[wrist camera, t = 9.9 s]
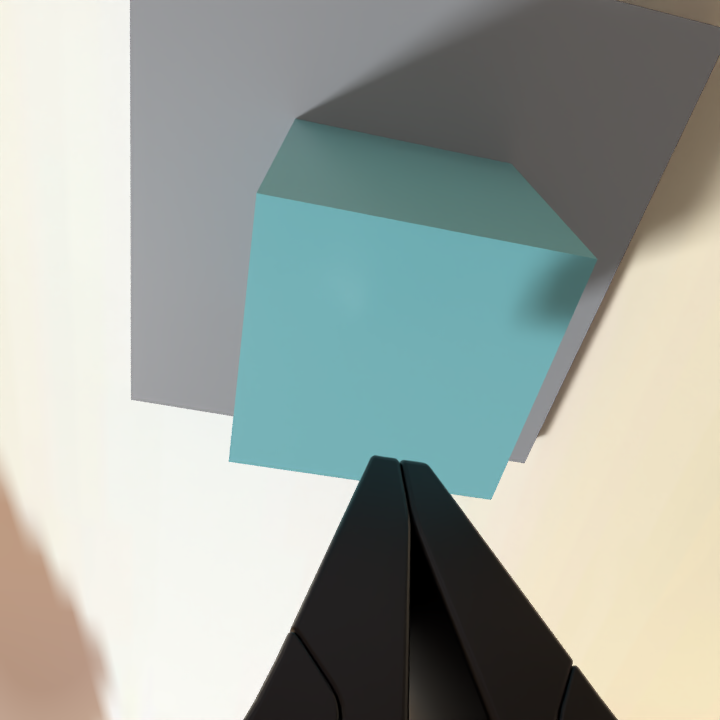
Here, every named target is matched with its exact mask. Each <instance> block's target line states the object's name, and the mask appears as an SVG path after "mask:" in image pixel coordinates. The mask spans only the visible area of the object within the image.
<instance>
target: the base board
mask: <svg viewBox="0 0 720 720" xmlns="http://www.w3.org/2000/svg"><path fill="white" fill-rule="evenodd" d="M719 55H720V27H717V26H714V25H710V24H706V23H702V22H698V21H694V20H690V19H686V18H683V17H679V16H675V15H671V14H667V13H663V12H659V11H655V10H652V9H648V8H644V7H640V6H636V5H632V4H628V3H624V2H621V1H617V0H130V128H131V400H136V401H143V402H149V403H155V404H161V405H167V406H174V407H180V408H186V409H192V410H198V411H205V412H211V413H217V414H223V415H229V416H234V407H235V397H236V387H237V378H238V368H239V358H240V348H241V339H242V329H243V319H244V309H245V300H246V290H247V280H248V270H249V261H250V251H251V241H252V232H253V222H254V212H255V202H256V193H257V191H258V189H259V187H260V185H261V183H262V181H263V180H264V178H265V176H266V174H267V172H268V170H269V168H270V166H271V164H272V162H273V160H274V158H275V157H276V155H277V153H278V151H279V149H280V147H281V145H282V143H283V141H284V139H285V137H286V136H287V134H288V132H289V130H290V128H291V126H292V124H293V122H294V120H295V119H300V120H304V121H309V122H314V123H319V124H323V125H328V126H333V127H338V128H343V129H347V130H352V131H357V132H362V133H367V134H371V135H376V136H381V137H386V138H391V139H395V140H400V141H405V142H410V143H414V144H419V145H424V146H429V147H434V148H438V149H443V150H448V151H453V152H458V153H462V154H467V155H472V156H477V157H482V158H486V159H491V160H496V161H501V162H506V163H510V164H512V165H513V166H514V167H515V168H516V169H517V170H518V172H519V173H520V174H521V175H522V176H523V177H524V178H525V179H526V180H527V182H528V183H529V184H530V185H531V186H532V187H533V188H534V189H535V190H536V191H537V193H538V194H539V195H540V196H541V197H542V198H543V199H544V200H545V201H546V203H547V204H548V205H549V206H550V207H551V208H552V209H553V210H554V211H555V213H556V214H557V215H558V216H559V217H560V218H561V219H562V220H563V221H564V223H565V224H566V225H567V226H568V227H569V228H570V229H571V230H572V231H573V232H574V234H575V235H576V236H577V237H578V238H579V239H580V240H581V241H582V242H583V244H584V245H585V246H586V247H587V248H588V249H589V250H590V251H591V252H592V254H593V255H594V256H595V257H596V258H597V262H596V264H595V266H594V269H593V271H592V273H591V275H590V278H589V280H588V282H587V284H586V287H585V289H584V291H583V293H582V296H581V298H580V300H579V302H578V305H577V307H576V309H575V311H574V314H573V316H572V318H571V320H570V323H569V325H568V327H567V329H566V332H565V334H564V336H563V338H562V341H561V343H560V345H559V347H558V350H557V352H556V354H555V357H554V359H553V361H552V363H551V366H550V368H549V370H548V372H547V375H546V377H545V379H544V381H543V384H542V386H541V388H540V390H539V393H538V395H537V397H536V399H535V402H534V404H533V406H532V408H531V411H530V413H529V415H528V417H527V420H526V422H525V424H524V426H523V429H522V431H521V433H520V435H519V438H518V440H517V442H516V445H515V447H514V449H513V451H512V454H511V456H510V458H509V460H508V461H514V462H520V463H525V461H526V459H527V457H528V454H529V452H530V450H531V448H532V446H533V444H534V442H535V440H536V438H537V436H538V434H539V431H540V429H541V427H542V425H543V423H544V421H545V419H546V417H547V415H548V413H549V411H550V408H551V406H552V404H553V402H554V400H555V398H556V396H557V394H558V392H559V390H560V388H561V385H562V383H563V381H564V379H565V377H566V375H567V373H568V371H569V369H570V367H571V365H572V362H573V360H574V358H575V356H576V354H577V352H578V350H579V348H580V346H581V344H582V342H583V339H584V337H585V335H586V333H587V331H588V329H589V327H590V325H591V323H592V321H593V319H594V316H595V314H596V312H597V310H598V308H599V306H600V304H601V302H602V300H603V298H604V296H605V293H606V291H607V289H608V287H609V285H610V283H611V281H612V279H613V277H614V275H615V273H616V270H617V268H618V266H619V264H620V262H621V260H622V258H623V256H624V254H625V252H626V250H627V247H628V245H629V243H630V241H631V239H632V237H633V235H634V233H635V231H636V229H637V227H638V224H639V222H640V220H641V218H642V216H643V214H644V212H645V210H646V208H647V206H648V204H649V201H650V199H651V197H652V195H653V193H654V191H655V189H656V187H657V185H658V183H659V181H660V178H661V176H662V174H663V172H664V170H665V168H666V166H667V164H668V162H669V160H670V158H671V155H672V153H673V151H674V149H675V147H676V145H677V143H678V141H679V139H680V137H681V135H682V132H683V130H684V128H685V126H686V124H687V122H688V120H689V118H690V116H691V114H692V112H693V109H694V107H695V105H696V103H697V101H698V99H699V97H700V95H701V93H702V91H703V89H704V86H705V84H706V82H707V80H708V78H709V76H710V74H711V72H712V70H713V68H714V66H715V63H716V61H717V59H718V57H719Z"/></svg>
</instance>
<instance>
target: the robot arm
mask: <svg viewBox="0 0 720 720" xmlns="http://www.w3.org/2000/svg"><path fill="white" fill-rule="evenodd" d="M572 664H573V661H572V659H571V657H570V656H569V655H568V653H567V652H566V650H565V649H564V648H563V646H562V645H561V644H560V642H559V641H558V640H557V638H556V637H555V636H554V634H553V633H552V631H551V630H550V629H549V627H548V626H547V625H546V623H545V622H544V621H543V619H542V618H541V617H540V615H539V614H538V612H537V611H536V610H535V608H534V607H533V606H532V604H531V603H530V602H529V600H528V599H527V598H526V596H525V595H524V593H523V592H522V591H521V589H520V588H519V587H518V585H517V584H516V583H515V581H514V580H513V579H512V577H511V576H510V574H509V573H508V572H507V570H506V569H505V568H504V566H503V565H502V564H501V562H500V561H499V560H498V558H497V557H496V556H495V554H494V553H493V551H492V550H491V549H490V547H489V546H488V545H487V543H486V542H485V541H484V539H483V538H482V537H481V535H480V534H479V532H478V531H477V530H476V528H475V527H474V526H473V524H472V523H471V522H470V520H469V519H468V518H467V516H466V515H465V513H464V512H463V511H462V509H461V508H460V507H459V505H458V504H457V503H456V501H455V500H454V499H453V497H452V496H451V494H450V493H449V492H448V490H447V489H446V488H445V486H444V485H443V484H442V482H441V481H440V480H439V478H438V477H437V475H436V474H435V473H434V471H433V470H432V469H431V467H430V466H429V465H427V464H426V463H423V462H416V461H410V460H402V461H400V462H399V461H398V460H397V459H396V458H391V457H384V456H378V455H374V456H372V457H371V458H370V460H369V462H368V464H367V466H366V468H365V471H364V473H363V475H362V477H361V479H360V481H359V483H358V486H357V488H356V490H355V492H354V494H353V496H352V498H351V501H350V503H349V505H348V507H347V509H346V511H345V513H344V516H343V518H342V520H341V522H340V524H339V526H338V528H337V531H336V533H335V535H334V537H333V539H332V541H331V543H330V545H329V548H328V550H327V552H326V554H325V556H324V558H323V560H322V563H321V565H320V567H319V569H318V571H317V573H316V575H315V578H314V580H313V582H312V584H311V586H310V588H309V590H308V593H307V595H306V597H305V599H304V601H303V603H302V605H301V608H300V610H299V612H298V614H297V616H296V618H295V620H294V623H293V625H292V627H291V630H290V633H288V635H287V637H286V639H285V641H284V643H283V645H282V647H281V650H280V652H279V654H278V656H277V658H276V660H275V662H274V664H273V666H272V668H271V670H270V672H269V674H268V676H267V678H266V680H265V682H264V684H263V686H262V688H261V690H260V692H259V693H258V695H257V697H256V699H255V701H254V703H253V705H252V706H251V708H250V710H249V711H248V713H247V715H246V716H245V718H244V720H618V719H617V718H616V717H615V716H614V714H613V713H612V712H611V710H610V709H609V708H608V706H607V705H606V704H605V703H604V701H603V700H602V699H601V697H600V696H599V695H598V693H597V692H596V691H595V689H594V688H593V687H592V685H591V684H590V683H589V681H588V680H587V679H586V677H585V676H584V674H583V673H582V672H581V670H580V669H579V668H578V667H577V666H572Z"/></svg>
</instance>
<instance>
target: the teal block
mask: <svg viewBox="0 0 720 720" xmlns="http://www.w3.org/2000/svg"><path fill="white" fill-rule="evenodd" d="M596 262H597V258H596V257H595V256H594V255H593V254H592V252H591V251H590V250H589V249H588V248H587V247H586V246H585V245H584V244H583V242H582V241H581V240H580V239H579V238H578V237H577V236H576V235H575V234H574V232H573V231H572V230H571V229H570V228H569V227H568V226H567V225H566V224H565V223H564V221H563V220H562V219H561V218H560V217H559V216H558V215H557V214H556V213H555V211H554V210H553V209H552V208H551V207H550V206H549V205H548V204H547V203H546V201H545V200H544V199H543V198H542V197H541V196H540V195H539V194H538V193H537V191H536V190H535V189H534V188H533V187H532V186H531V185H530V184H529V183H528V182H527V180H526V179H525V178H524V177H523V176H522V175H521V174H520V173H519V172H518V170H517V169H516V168H515V167H514V166H513V165H512V164H510V163H506V162H501V161H496V160H491V159H486V158H482V157H477V156H472V155H467V154H462V153H458V152H453V151H448V150H443V149H438V148H434V147H429V146H424V145H419V144H414V143H410V142H405V141H400V140H395V139H391V138H386V137H381V136H376V135H371V134H367V133H362V132H357V131H352V130H347V129H343V128H338V127H333V126H328V125H323V124H319V123H314V122H309V121H304V120H300V119H295V120H294V122H293V124H292V126H291V128H290V130H289V132H288V134H287V136H286V137H285V139H284V141H283V143H282V145H281V147H280V149H279V151H278V153H277V155H276V157H275V158H274V160H273V162H272V164H271V166H270V168H269V170H268V172H267V174H266V176H265V178H264V180H263V181H262V183H261V185H260V187H259V189H258V191H257V193H256V202H255V212H254V222H253V232H252V241H251V251H250V261H249V270H248V280H247V290H246V300H245V309H244V319H243V329H242V339H241V348H240V358H239V368H238V378H237V387H236V397H235V407H234V417H233V426H232V436H231V446H230V456H229V462H235V463H242V464H249V465H256V466H262V467H269V468H276V469H283V470H290V471H297V472H304V473H311V474H318V475H324V476H331V477H338V478H345V479H352V480H359V481H360V479H361V477H362V475H363V473H364V471H365V468H366V466H367V464H368V462H369V460H370V458H371V457H372V456H374V455H378V456H384V457H391V458H396V459H397V460H398V461H399V462H400V461H402V460H410V461H416V462H423V463H426V464H427V465H429V466H430V467H431V469H432V470H433V471H434V473H435V474H436V475H437V477H438V478H439V480H440V481H441V482H442V484H443V485H444V486H445V488H446V489H447V490H448V492H449V493H450V494H455V495H462V496H469V497H476V498H483V499H490V500H491V499H492V496H493V494H494V492H495V490H496V487H497V485H498V483H499V481H500V478H501V476H502V474H503V472H504V469H505V467H506V465H507V463H508V460H509V458H510V456H511V454H512V451H513V449H514V447H515V445H516V442H517V440H518V438H519V435H520V433H521V431H522V429H523V426H524V424H525V422H526V420H527V417H528V415H529V413H530V411H531V408H532V406H533V404H534V402H535V399H536V397H537V395H538V393H539V390H540V388H541V386H542V384H543V381H544V379H545V377H546V375H547V372H548V370H549V368H550V366H551V363H552V361H553V359H554V357H555V354H556V352H557V350H558V347H559V345H560V343H561V341H562V338H563V336H564V334H565V332H566V329H567V327H568V325H569V323H570V320H571V318H572V316H573V314H574V311H575V309H576V307H577V305H578V302H579V300H580V298H581V296H582V293H583V291H584V289H585V287H586V284H587V282H588V280H589V278H590V275H591V273H592V271H593V269H594V266H595V264H596Z"/></svg>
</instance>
